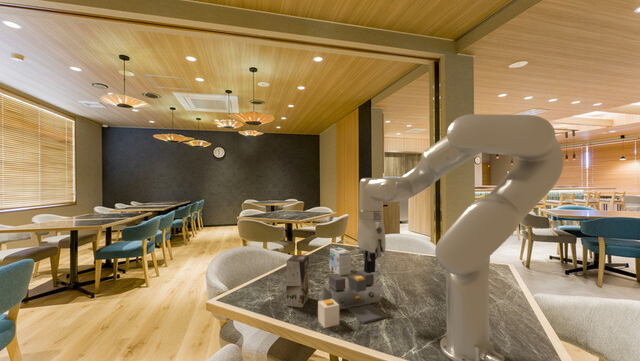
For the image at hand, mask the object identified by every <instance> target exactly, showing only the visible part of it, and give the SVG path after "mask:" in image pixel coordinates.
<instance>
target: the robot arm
mask: <svg viewBox="0 0 640 361" xmlns="http://www.w3.org/2000/svg"><path fill="white" fill-rule="evenodd" d="M481 153H482V154H489V155H490V154H492V155H499V156H501V155H502V156H511V157H515V159H516V160H515V164H514V165H513V167H512V169H510V171H509V172H507V174H506V175H505V176H504V177H503V178H502V180H500V182H499V183H498V184H497V185H496V186H495V188H494V189H492V191H491V192H489V194H487V195H486V196H485V197H481V198H478V199H477V200H475V201H473V202H472V203H471V204H470V205H469V206H468V207H466V208H465V210H464V211H463V212H462V213H461V214H460V215H459V216H458V218H457V219H455V221H454V222H453V224H451V225H450V227H449V228H448V229H447V230H446V231H445V232H444V234H442V236H441V237H440V238H439V239H438V241H437V243H436V245H435V249H434V250H435V252H434V253H435V254H434V255H435V258H436V261H437V263H438V265H439V266H440V267H441V268H442V269H443V270H444V271H446V276H445V277H446V278H445V284H446V286H445V287H446V288H445V293H446V296H445V300H446V301H445V302H446V303H445V305H446V306H445V307H446V308H445V310H446V336H444V337H442V338H441V339H440V346H439V347H440V350H441V352H442V353H443V354H444V355H445V356H446V357H447V358H448V359H449V360H451V361H505V355H503V354H501V353H498V352H497V351H496V350H495V343H494V342H493V341H491V340H490V308H489V307H490V306H489V305H490V302H489V301H490V300H489V299H490V298H489V296H490V294H489V293H490V286H489V285H490V284H489V283H490V278H489V276H490V263H491V260H490V259H491V255H493V254H494V253H495V252H496V251H497V250H498V249H499V248H500V247H501V246H502V245H503V244H504V243H505V242H506V241H507V240H508V239H509V238H510V237H511V236H512V235H513V234H514V233H515V231H516V230H517V229H518V227H519V225H520V224H521V222H522V221H523V220H524V219H525V218H526V217H527V216H528V214H530V213H531V211H532V210H533V209H535V208H536V207H537V205H538V204H539V203H540V202H541V201H542V200H543V199H544V198H545V197H546V196H547V195H548V194H549V193H550V192H551V190H552V189H553V188H554V187H555V185H556V184H557V182H558V181H559V179H560V177H561V175H562V172H563V169H564V163H565V162H564V153H563V150H562V147H561V145H560V143H559V141H558V138H556V131H555V128H554V125H552V123H551V122H550V121H549V120H547V119H546V118H544V117H540V116H539V115H538V116H537V115H531V114H493V113H492V114H491V113H490V114H484V113H483V114H482V113H477V114H476V113H473V114H472V113H471V114H464V115H461V116H459V117H456V118H455V119H454V120H453V121H452V122H451V123H450V124H449V126H448V127H447V130H446V135H445V136H444V137H442V138H440V139H439V140H438V141H436V142H435V143H434V144H432V145H431V146H429V147H428V148H426V149H425V150H424V151H423V152H422V153H421V157H420V160H419V163H418V164H417V165H416V166H415V167H413V168H412V169H410V170H409V171H408V172H407V173H405V174H403V175H402V176H400V177H395V176H393V177H379V178H378V177H364V178H361V179H360V181H359V188H358V189H359V191H358V194H359V195H358V198H359V199H358V202H359V203H358V225H357V235H356V236H357V237H356V240H357V246H358V248H359V251H361V252H362V254H363V256H362V257H363V260H364V261H363V264H364V265H363V270H364V272H366V273H372V274H374V273H376V261H377V259H380V258H382V253H385V252H386V249H387V248H386V229H385V224H384V221H383V206H384V205H383V204H384V203H383V202H385V203H395V202H402V201H403V202H404V201H407V200H409V199H411V198H414V197H415V196H416V195H418V194H420V193H421V192H423V191H425V190H426V189H427V188H429V187H431V186H433V184H434V183H436V182H437V181H439V180H440V179H441V178H443V177H444V176H445V175H447V174H448V173H450V172H451V171H453V170H455V169H456V168H458V167H460V166H461V165H463V164H465V163H466V162H468V161H470V160H472V159H473V158H475V157H476V156H478V155H479V154H481Z"/></svg>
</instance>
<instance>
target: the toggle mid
mask: <svg viewBox="0 0 640 361" xmlns="http://www.w3.org/2000/svg"><path fill="white" fill-rule="evenodd" d="M347 277H348V278H347V279H348V280H347V281H348V286H349V287H350V288H352V289H353V290H355V291H356V292H361V291H366V280H365V279H364V277H362V276H358V275H357V274H353V275H348V276H347Z"/></svg>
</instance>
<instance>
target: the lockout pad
mask: <svg viewBox="0 0 640 361" xmlns="http://www.w3.org/2000/svg"><path fill="white" fill-rule="evenodd" d="M348 312H349V313H350V314H352V315H353V316H354V317H355V318H356V319H357V320H359V322H361V323H362V324H367V323H372V322H375V321H380V320H384V319H387V318H388V316H387V314H385V313H384V312H383V311H381V310H380V309H378V308H377V307H375V306H374V305H373V304H365V305H360V306H356V307H351V308H348Z"/></svg>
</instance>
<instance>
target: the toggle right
mask: <svg viewBox="0 0 640 361" xmlns="http://www.w3.org/2000/svg"><path fill="white" fill-rule="evenodd" d="M356 275H358V276H362V277H364V279H365V280H366V285H371V284H374V282H375V278H374V277H375V276H374V275H375V274H374V273H366V272H364V269H359V270H356Z"/></svg>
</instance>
